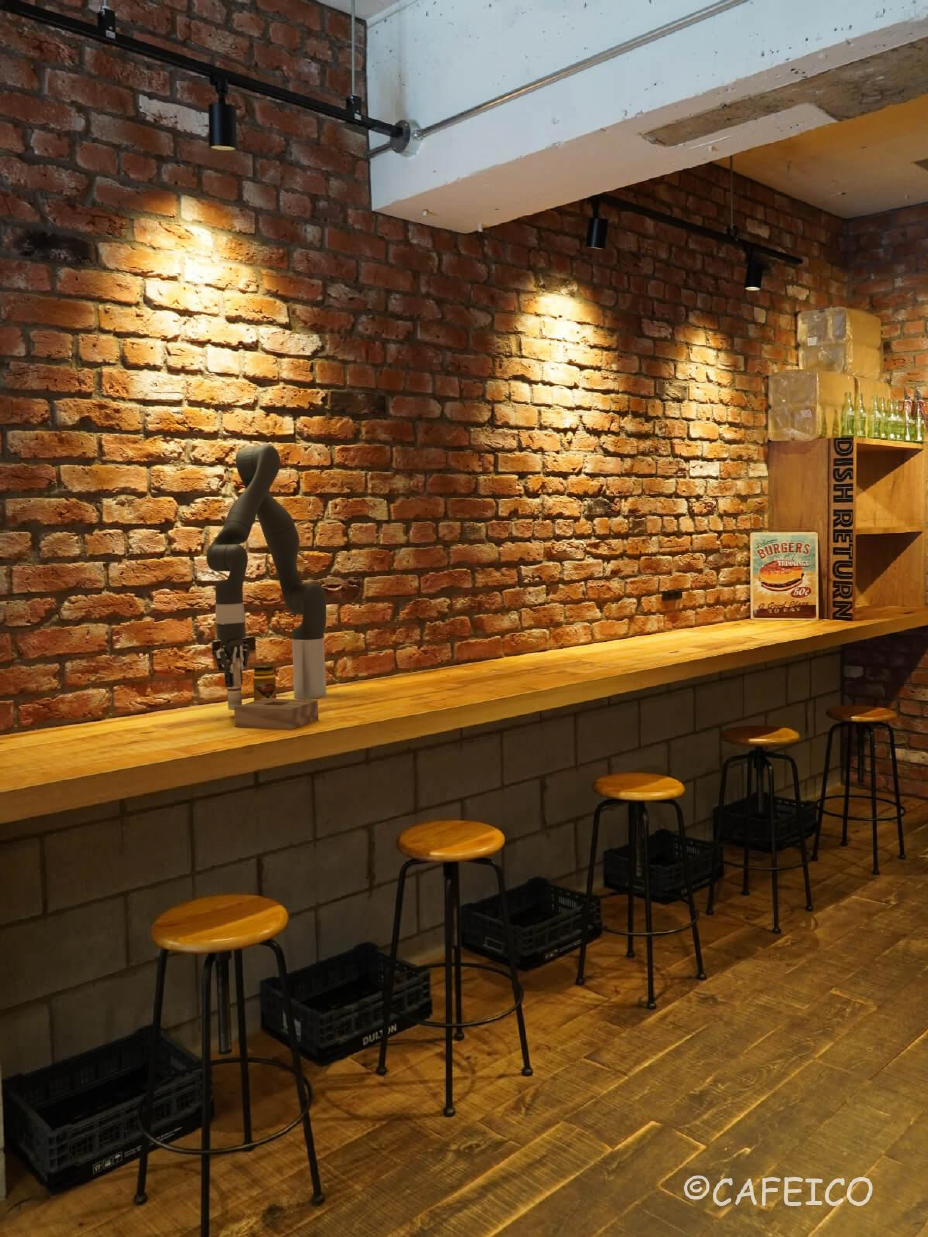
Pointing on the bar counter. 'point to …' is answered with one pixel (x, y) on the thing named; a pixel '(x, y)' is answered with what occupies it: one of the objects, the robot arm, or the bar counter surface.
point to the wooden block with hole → (276, 713)
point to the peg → (235, 687)
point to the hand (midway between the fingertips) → (233, 685)
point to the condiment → (264, 682)
